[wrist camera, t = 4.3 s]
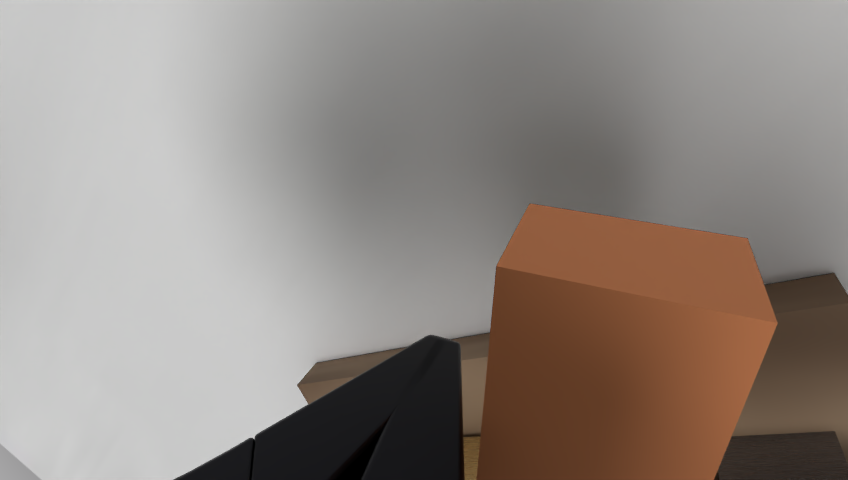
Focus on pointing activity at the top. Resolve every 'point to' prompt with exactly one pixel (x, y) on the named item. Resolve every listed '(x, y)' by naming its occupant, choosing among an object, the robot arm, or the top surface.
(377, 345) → the top surface
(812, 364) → the valve base
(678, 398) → the lever
